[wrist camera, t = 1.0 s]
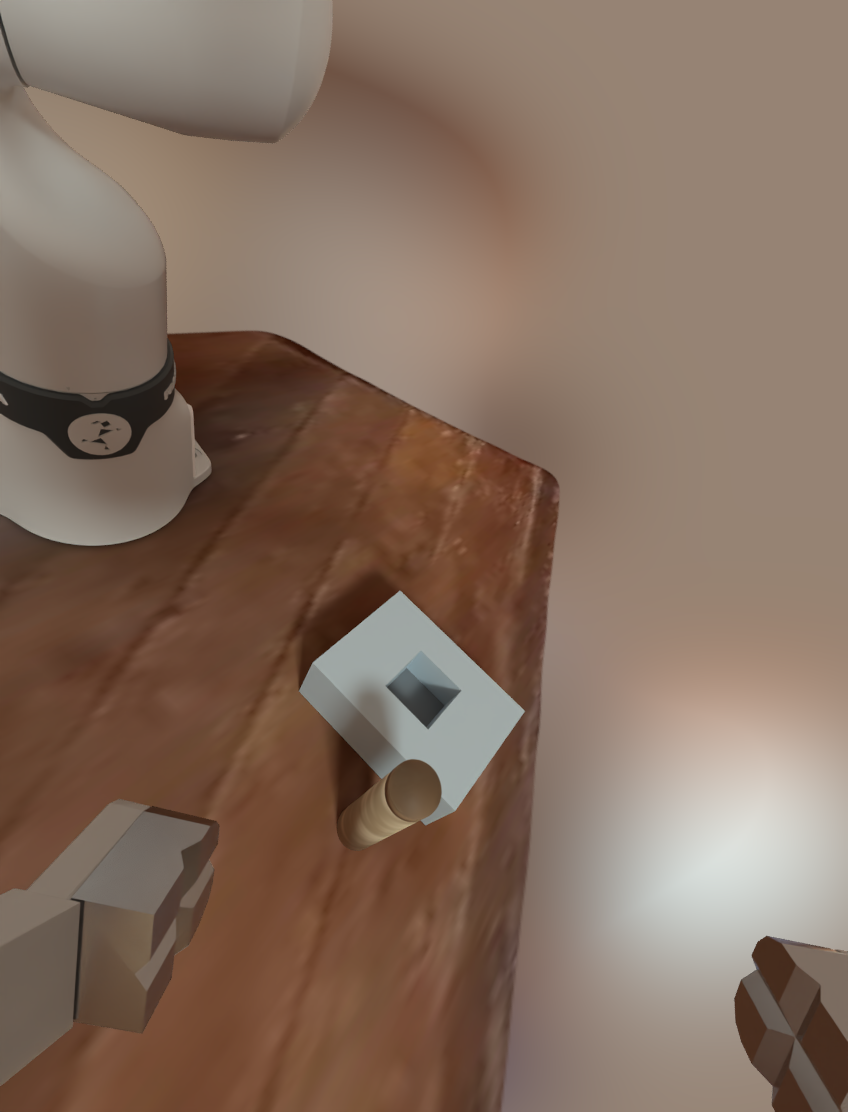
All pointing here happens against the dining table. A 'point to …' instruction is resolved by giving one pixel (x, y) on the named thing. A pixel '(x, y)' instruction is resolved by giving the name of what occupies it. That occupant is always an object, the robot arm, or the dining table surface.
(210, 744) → the dining table surface
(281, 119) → the robot arm
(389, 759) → the socket block
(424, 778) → the dowel pin
